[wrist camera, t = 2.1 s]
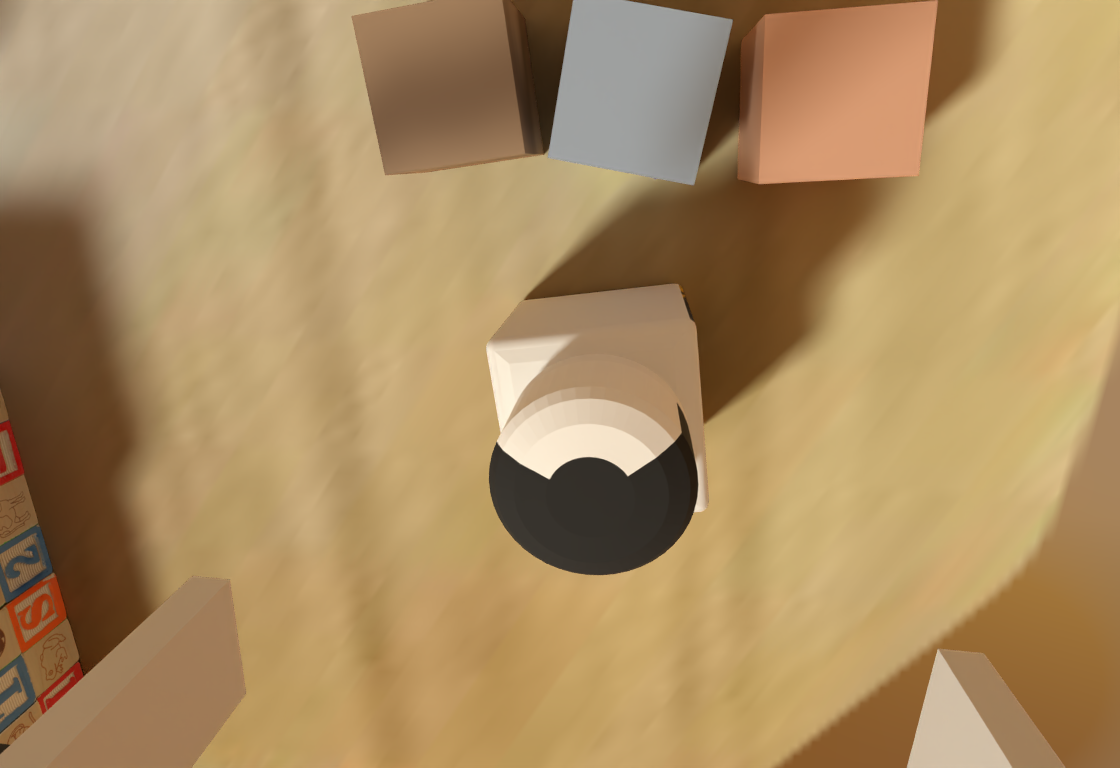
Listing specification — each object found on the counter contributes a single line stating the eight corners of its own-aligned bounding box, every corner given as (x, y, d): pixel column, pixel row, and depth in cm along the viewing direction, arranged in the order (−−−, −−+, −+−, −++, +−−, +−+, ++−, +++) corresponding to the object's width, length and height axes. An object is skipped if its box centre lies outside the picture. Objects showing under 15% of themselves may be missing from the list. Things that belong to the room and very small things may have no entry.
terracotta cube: (741, 41, 25) (765, 14, 20) (879, 30, 25) (937, 0, 20) (737, 179, 27) (758, 184, 22) (867, 172, 26) (918, 175, 21)
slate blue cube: (585, 21, 25) (574, -9, 21) (714, 44, 25) (733, 19, 21) (562, 157, 27) (547, 157, 22) (683, 180, 27) (693, 185, 22)
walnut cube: (402, 41, 26) (351, 16, 22) (525, 18, 26) (500, -13, 21) (427, 172, 28) (385, 175, 23) (544, 154, 27) (525, 153, 22)
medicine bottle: (694, 435, 30) (728, 600, 19) (540, 448, 31) (486, 611, 20) (682, 280, 28) (713, 363, 17) (517, 299, 29) (442, 388, 18)
